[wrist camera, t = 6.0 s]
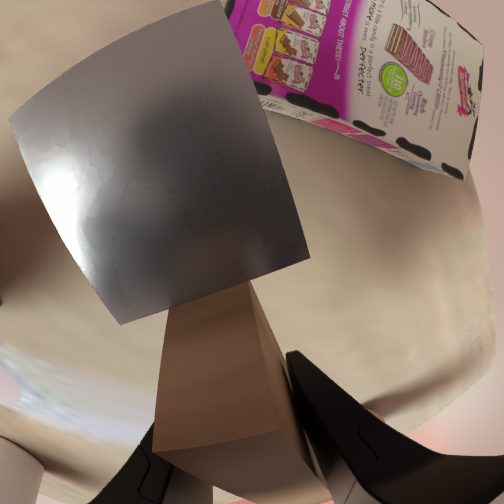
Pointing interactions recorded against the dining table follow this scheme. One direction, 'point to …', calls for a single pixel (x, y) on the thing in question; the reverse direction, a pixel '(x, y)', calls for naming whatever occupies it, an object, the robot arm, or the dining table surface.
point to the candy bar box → (368, 73)
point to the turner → (183, 238)
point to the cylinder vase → (18, 474)
